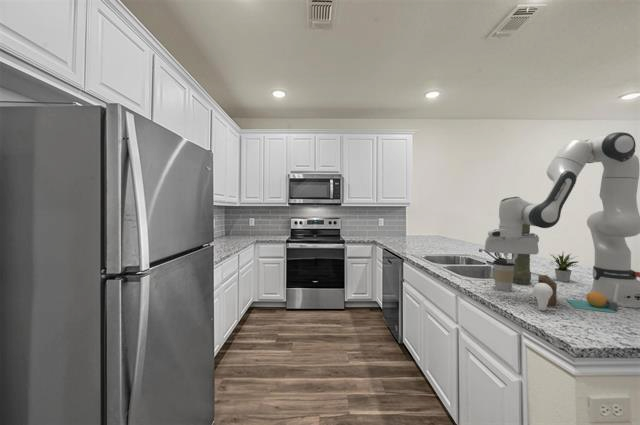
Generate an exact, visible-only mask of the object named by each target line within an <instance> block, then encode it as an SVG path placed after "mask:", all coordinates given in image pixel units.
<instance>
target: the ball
mask: <svg viewBox="0 0 640 425" xmlns="http://www.w3.org/2000/svg"><path fill="white" fill-rule="evenodd" d="M585 299H586V301H588V303H589V304H591V305H592V306H595V307H602V306H604V305H605V304H606V302H607V299H606V297H605V296H604V295H603V294H601V293H599V292H591V291H590V292H589V293H587V294H586V298H585Z"/></svg>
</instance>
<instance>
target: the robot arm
mask: <svg viewBox="0 0 640 425" xmlns="http://www.w3.org/2000/svg"><path fill="white" fill-rule="evenodd" d="M636 146H637V145H636V140H635V138H634V136H633V135H632V134H630V133H629V132H624V131H623V132H621V131H619V132H612V133H609V134H607V133H606V134H603V135H598V136H596V137H594V138H591V139H585V140H582V139H573V140H570V141H568V142H567V143H566V144H565V145H564V146H563V147H562V148H561V149H560V150H559V151H558V152H557V154H556V155H555V156H554V158H552V160H551V162H550V164H549V166H548V168H547V169H546V175H547V177H548V179H549V180H550V181H552V183H553V185H552V187H551V189H550V190H549V191H548V194H547V195H546V198H545V199H544V200H543V201H542V202H540V203H532V202H529V201H526V200H524V199H522V198H521V197H520V196H511V197H507V198H503V199H501V200H500V203H499V208H498V218H499V224H498V228H497V229H492V230H489V231H488V232H487V235H488V236H487V237H486V239H485V242H484V243H485V244H484V251H485V252H486V253H495V254H503V256H504V259H507V263H513V264H515V259H516V258H517V257H518V254H530V255H538V254H539V250H540V249H539V244H538V243H539V240H540V237H539V235H538V234H536V233H534V232H533V233H532V232H530V233H522V225H523V224H526V225H530V227H531V226H533V227H538V228H541V229H549V228H552V227H554V226H556V225H557V223H559V220H560V218H561V214H562V209H563V207H564V205H565V204H566V202H567V199H568V198H569V196H570V194H571V193H572V191H573V189H574V187H575V185H576V184H577V179H578V177H579V175H580V173H581V172H582V170H583V169H584V167H585V166H586V164H594V163H601V165H602V167H603V172H602V176H601V181H600V182H601V183H600V187H599V188H600V189H599V195H598V196H599V198H600V200H601V202H602V209H603V210H600V211H596V212H594V213H592V214H590V215H589V216H588V218H587V219H586V224H587V227H588V229H589V230H590V234H591V239H592V242H593V247H594V265H593V267H592V278H593V282H592V287H591V290H590V292H599V293H601V294H603V295H604V296H605V297H606V299H611V300H613V301H614V302H616V303H617V307H623V308H636V309H638V308H639V309H640V280H639V279H637V278H640V272H639V271H635V270H633V269H632V251H631V249H630V248H629V246H628V244H627V241H626V238H630V237H631V238H632V237H635V236H638V235H639V234H640V212H639V207H638V203H637V202H638V201H637V200H638V199H637V194H638V187H639V186H638V185H639V179H640V160H639V157H638V156H637V155H636V154H635V152H636ZM522 235H523V236H522ZM509 254H511V255H512V254H513V255H514V257H513V259H512V258H509V257H508V256H509Z"/></svg>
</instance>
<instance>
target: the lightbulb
mask: <svg viewBox="0 0 640 425" xmlns="http://www.w3.org/2000/svg"><path fill="white" fill-rule="evenodd" d="M532 290H533V291H532V292H533V294H534V295H535V297H536V299H537V304H538V309H539V310H540V311H543V312H544V311H546V310H547V307H548V306H547V305H548V300H549V298H550V297H551V296H552V294H553V291H552V288H551V287H550V286H549V285H548V284H545V283H536V284H534V285H533V288H532Z"/></svg>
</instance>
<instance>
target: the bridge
mask: <svg viewBox="0 0 640 425" xmlns="http://www.w3.org/2000/svg"><path fill="white" fill-rule="evenodd" d="M537 279H538V283H545V284H548V285H549V286H550V287H551V288H552V291H553V294H552V296H551V297H550V298H549V300H548V305H547V307H552V308H553V307H554V308H557V292H558V291H557V285H558V284H557V282H555V281H554V280H553V279H552V278H551V277H550V276H548V275H546V274H538V278H537ZM538 283H537V284H538Z"/></svg>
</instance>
